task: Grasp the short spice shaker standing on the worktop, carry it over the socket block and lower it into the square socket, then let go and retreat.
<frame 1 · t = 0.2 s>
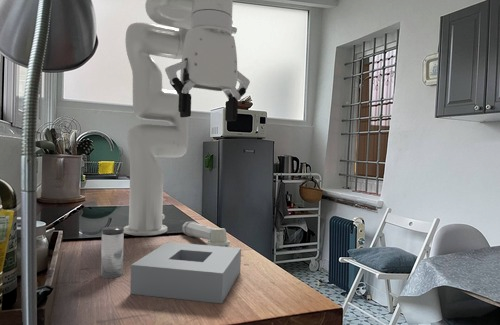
hand: (208, 119, 69), 31 cm above the kitchen counter, tool pointing down, fingers open, 9 cm apart
socket block: (190, 281, 69), on the kitchen counter
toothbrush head: (203, 244, 98), on the kitchen counter
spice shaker: (111, 274, 72), on the kitchen counter
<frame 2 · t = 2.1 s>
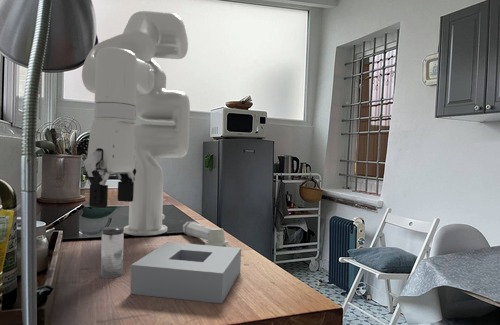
hand: (112, 204, 71), 14 cm above the kitchen counter, tool pointing down, fingers open, 9 cm apart
nothing on the kitchen counter moved.
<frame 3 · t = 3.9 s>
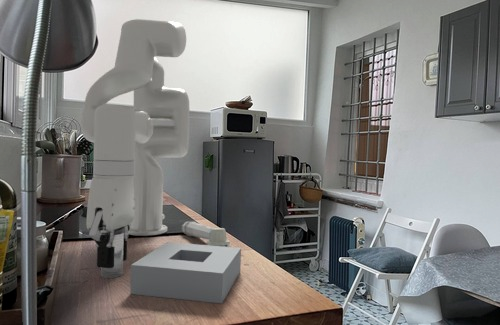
hand: (112, 262, 72), 2 cm above the kitchen counter, tool pointing down, fingers closed on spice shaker, 4 cm apart
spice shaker: (111, 274, 72), on the kitchen counter, touching gripper
everything else where it was.
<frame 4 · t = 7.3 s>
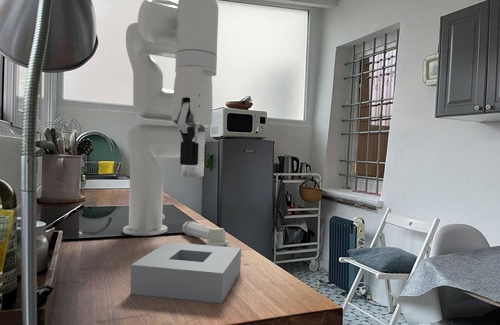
hand: (193, 163, 68), 22 cm above the kitchen counter, tool pointing down, fingers closed on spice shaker, 4 cm apart
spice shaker: (192, 175, 68), point 20 cm above the kitchen counter, touching gripper
everything else where it was.
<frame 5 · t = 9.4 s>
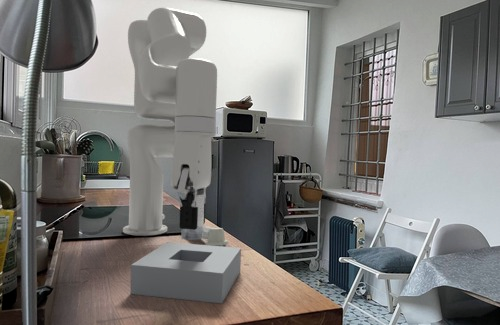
hand: (192, 225, 69), 11 cm above the kitchen counter, tool pointing down, fingers closed on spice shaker, 4 cm apart
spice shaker: (192, 237, 69), point 8 cm above the kitchen counter, touching gripper
everything else where it was.
when the fingers open (5 cm above the kitchen counter, at t = 10.9 s): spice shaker drops 1 cm, resting on socket block.
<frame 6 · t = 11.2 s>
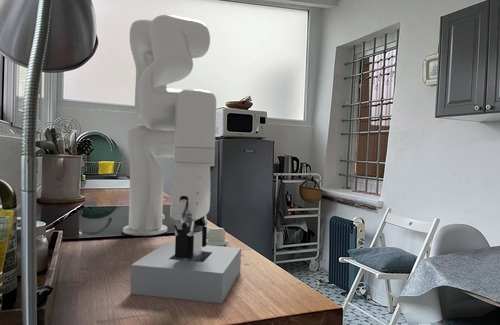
hand: (191, 251, 69), 6 cm above the kitchen counter, tool pointing down, fingers open, 7 cm apart
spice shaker: (190, 273, 69), point 2 cm above the kitchen counter, touching socket block
everything else where it was.
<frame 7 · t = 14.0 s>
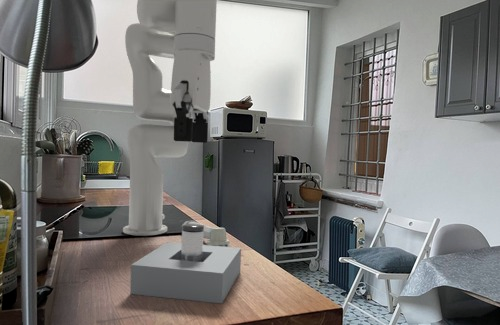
hand: (191, 141, 69), 26 cm above the kitchen counter, tool pointing down, fingers open, 9 cm apart
nothing on the kitchen counter moved.
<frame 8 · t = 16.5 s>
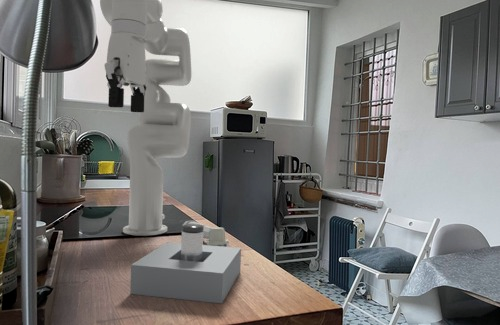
hand: (127, 109, 83), 33 cm above the kitchen counter, tool pointing down, fingers open, 9 cm apart
nothing on the kitchen counter moved.
at the end: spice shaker 0.2 cm off-centre on the socket block, point 1.6 cm above the socket block's base; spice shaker tilted 2°; the gripper is holding nothing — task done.
